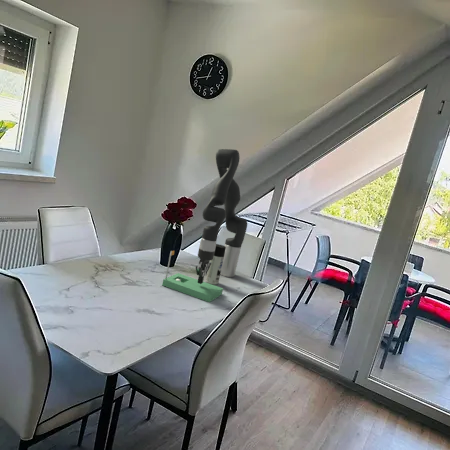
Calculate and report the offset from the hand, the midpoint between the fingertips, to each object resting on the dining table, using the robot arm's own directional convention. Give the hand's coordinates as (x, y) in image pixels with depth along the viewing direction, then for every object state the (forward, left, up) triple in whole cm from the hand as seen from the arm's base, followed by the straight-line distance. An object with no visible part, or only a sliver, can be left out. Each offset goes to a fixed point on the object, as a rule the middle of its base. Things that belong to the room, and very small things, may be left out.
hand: (199, 283), depth 202 cm
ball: (0, -11, -3) cm, 12 cm away
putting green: (0, -3, -4) cm, 5 cm away
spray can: (-19, -1, -5) cm, 20 cm away
